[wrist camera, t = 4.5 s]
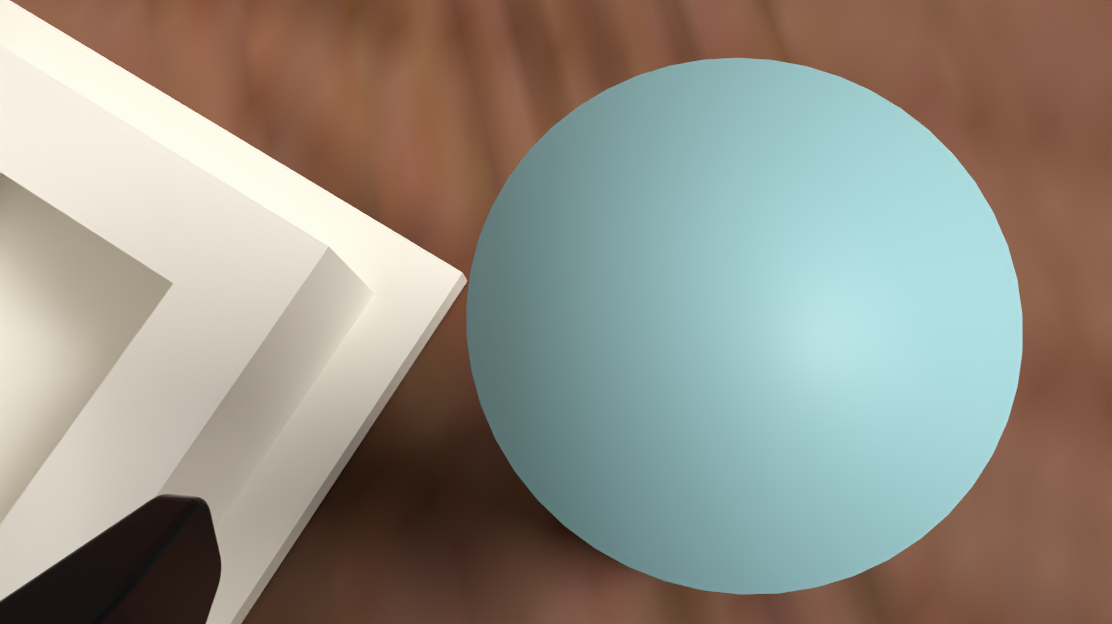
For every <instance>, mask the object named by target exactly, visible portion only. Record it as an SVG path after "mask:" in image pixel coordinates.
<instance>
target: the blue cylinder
mask: <svg viewBox="0 0 1112 624" xmlns="http://www.w3.org/2000/svg"><path fill="white" fill-rule="evenodd" d="M467 343H468V350H469V357H470V364H471V371H472V375H473V379H474V382H475V386H476V389H477V393H478V397H479V400H480V404H481V407H482V409H483V412H484V414H485V416H486V419H487V421H488V423H489V426H490V428H491V430H492V433H493V435H494V437H495V439H496V441H497V443H498V444H499V446H500V448H501V449H502V451H503V453H504V454H505V456H506V458H507V460H508V461H509V463H510V465H511V466H512V468H513V470H514V471H515V472H516V474H517V475H518V476H519V477H520V479H521V480H522V481H523V482H524V484H525V485H526V486H527V487H528V489H529V490H530V491H531V492H532V494H533V495H534V496H535V498H536V499H537V500H538V501H539V502H540V503H541V504H542V505H543V506H544V507H545V508H546V509H547V510H548V511H549V512H550V513H552V514H553V515H554V516H555V517H556V518H557V519H558V520H559V521H560V522H561V523H562V524H563V525H564V526H565V527H567V528H568V529H569V530H571V531H572V532H573V533H575V534H576V535H577V536H579V537H580V538H581V539H583V540H584V541H586V542H587V543H588V544H590V545H591V546H592V547H594V548H595V549H597V550H599V551H601V552H602V553H604V554H606V555H608V556H610V557H611V558H613V559H615V560H617V561H619V562H620V563H622V564H624V565H626V566H628V567H630V568H633V569H635V570H638V571H640V572H643V573H645V574H648V575H650V576H653V577H656V578H658V579H661V580H663V581H667V582H671V583H675V584H679V585H683V586H687V587H691V588H695V589H699V590H705V591H714V592H724V593H733V594H772V593H784V592H790V591H796V590H803V589H809V588H815V587H819V586H823V585H826V584H829V583H832V582H835V581H839V580H842V579H845V578H848V577H852V576H855V575H857V574H859V573H861V572H863V571H865V570H868V569H870V568H872V567H874V566H876V565H878V564H880V563H882V562H885V561H887V560H889V559H890V558H892V557H893V556H895V555H897V554H898V553H900V552H901V551H903V550H904V549H906V548H907V547H909V546H910V545H912V544H913V543H915V542H916V541H918V540H919V539H921V538H922V537H923V536H924V535H925V534H927V533H928V532H929V531H930V530H931V529H932V528H933V527H935V526H936V525H937V524H938V523H939V522H940V521H941V520H943V519H944V518H945V517H946V516H947V515H948V514H949V513H950V512H951V511H952V510H953V508H954V507H955V506H956V505H957V504H958V503H959V501H960V500H961V499H962V498H963V497H964V496H965V494H966V493H967V492H968V491H969V490H970V489H971V487H972V486H973V485H974V483H975V482H976V480H977V479H978V477H979V475H980V474H981V472H982V471H983V469H984V467H985V466H986V464H987V463H988V461H989V460H990V458H991V456H992V455H993V453H994V450H995V448H996V446H997V444H998V442H999V439H1000V437H1001V435H1002V433H1003V430H1004V428H1005V426H1006V424H1007V421H1008V418H1009V414H1010V411H1011V407H1012V404H1013V400H1014V397H1015V393H1016V390H1017V386H1018V379H1019V372H1020V364H1021V357H1022V310H1021V303H1020V296H1019V288H1018V281H1017V277H1016V273H1015V270H1014V266H1013V263H1012V259H1011V256H1010V252H1009V249H1008V245H1007V243H1006V241H1005V238H1004V236H1003V234H1002V231H1001V229H1000V227H999V224H998V222H997V220H996V218H995V215H994V213H993V211H992V210H991V208H990V206H989V205H988V203H987V201H986V199H985V198H984V196H983V194H982V193H981V191H980V189H979V188H978V186H977V184H976V183H975V181H974V180H973V179H972V178H971V176H970V175H969V174H968V172H967V171H966V170H965V169H964V167H963V166H962V165H961V164H960V162H959V161H958V160H957V158H956V157H955V156H954V155H953V154H952V153H951V152H950V151H949V150H948V149H947V148H946V147H945V146H944V145H943V144H942V143H941V142H940V141H939V140H938V139H937V138H936V137H935V136H934V135H933V134H932V133H931V132H930V131H929V130H928V129H927V128H925V127H924V126H923V125H922V124H920V123H919V122H918V121H916V120H915V119H914V118H912V117H911V116H910V115H909V114H907V113H906V112H905V111H903V110H902V109H901V108H899V107H898V106H896V105H894V104H892V103H891V102H889V101H887V100H886V99H884V98H882V97H881V96H879V95H877V94H876V93H874V92H872V91H871V90H868V89H866V88H864V87H862V86H859V85H857V84H855V83H853V82H850V81H848V80H846V79H844V78H841V77H839V76H836V75H833V74H829V73H826V72H823V71H820V70H816V69H813V68H810V67H807V66H802V65H796V64H791V63H785V62H780V61H774V60H763V59H747V58H727V59H709V60H700V61H694V62H688V63H683V64H677V65H672V66H668V67H664V68H661V69H658V70H655V71H651V72H648V73H645V74H641V75H638V76H636V77H634V78H631V79H629V80H627V81H625V82H622V83H620V84H618V85H616V86H613V87H611V88H609V89H607V90H605V91H603V92H602V93H600V94H598V95H597V96H595V97H593V98H592V99H590V100H588V101H587V102H585V103H583V104H582V105H580V106H578V107H577V108H576V109H575V110H573V111H572V112H571V113H570V114H568V115H567V116H566V117H564V118H563V119H562V120H561V121H559V122H558V123H557V124H555V125H554V126H553V127H552V128H551V129H550V130H549V131H548V132H547V133H546V134H545V135H544V136H543V137H542V138H541V139H540V140H539V141H538V142H537V143H536V144H535V145H534V146H533V147H532V148H531V149H530V150H529V151H528V153H527V154H526V155H525V157H524V158H523V159H522V160H521V162H520V163H519V164H518V166H517V167H516V168H515V170H514V171H513V172H512V174H511V175H510V176H509V178H508V179H507V181H506V183H505V185H504V186H503V188H502V190H501V192H500V193H499V195H498V197H497V199H496V200H495V202H494V204H493V205H492V208H491V210H490V213H489V215H488V217H487V220H486V222H485V225H484V227H483V230H482V232H481V234H480V237H479V241H478V244H477V248H476V252H475V256H474V260H473V263H472V267H471V272H470V280H469V288H468V296H467Z"/></svg>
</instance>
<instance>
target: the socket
mask: <svg viewBox="0 0 1112 624" xmlns="http://www.w3.org/2000/svg"><path fill="white" fill-rule="evenodd" d="M466 282H467V280H466V278H465V276H464V274H463V273H462V272H461V271H459V270H457V269H456V268H454V267H452V266H451V265H449V264H447V263H446V262H444V261H442V260H441V259H439V258H437V257H436V256H434V255H432V254H431V253H429V252H427V251H426V250H424V249H422V248H421V247H419V246H417V245H416V244H414V243H412V242H411V241H409V240H407V239H406V238H404V237H402V236H401V235H399V234H397V233H396V232H394V231H392V230H391V229H389V228H387V227H386V226H384V225H382V224H381V223H379V222H377V221H376V220H374V219H372V218H371V217H369V216H367V215H366V214H364V213H362V212H361V211H359V210H357V209H356V208H354V207H352V206H351V205H349V204H347V203H346V202H344V201H342V200H341V199H339V198H337V197H336V196H334V195H332V194H331V193H329V192H327V191H326V190H324V189H322V188H321V187H319V186H317V185H316V184H314V183H312V182H311V181H309V180H307V179H306V178H304V177H302V176H301V175H299V174H297V173H296V172H294V171H292V170H291V169H289V168H287V167H286V166H284V165H283V164H281V163H279V162H278V161H276V160H274V159H273V158H271V157H269V156H268V155H266V154H264V153H263V152H261V151H259V150H258V149H256V148H254V147H253V146H251V145H249V144H248V143H246V142H244V141H243V140H241V139H239V138H238V137H236V136H234V135H233V134H231V133H229V132H228V131H226V130H224V129H223V128H221V127H219V126H218V125H216V124H214V123H213V122H211V121H209V120H208V119H206V118H204V117H203V116H201V115H199V114H198V113H196V112H194V111H193V110H191V109H189V108H188V107H186V106H184V105H183V104H181V103H179V102H178V101H176V100H174V99H173V98H171V97H169V96H168V95H166V94H164V93H163V92H161V91H159V90H158V89H156V88H154V87H153V86H151V85H149V84H148V83H146V82H144V81H143V80H141V79H139V78H138V77H136V76H134V75H133V74H131V73H129V72H128V71H126V70H124V69H123V68H121V67H119V66H118V65H116V64H114V63H113V62H111V61H109V60H108V59H106V58H104V57H103V56H101V55H99V54H98V53H96V52H94V51H93V50H91V49H90V48H88V47H86V46H85V45H83V44H81V43H80V42H78V41H76V40H75V39H73V38H71V37H70V36H68V35H66V34H65V33H63V32H61V31H60V30H58V29H56V28H55V27H53V26H51V25H50V24H48V23H46V22H45V21H43V20H41V19H40V18H38V17H36V16H35V15H33V14H31V13H30V12H28V11H26V10H25V9H23V8H21V7H20V6H18V5H16V4H15V3H13V2H11V1H10V0H0V600H2V599H3V598H5V597H6V596H8V595H9V594H11V593H12V592H14V591H15V590H17V589H18V588H20V587H21V586H23V585H24V584H26V583H27V582H29V581H30V580H32V579H33V578H35V577H36V576H38V575H39V574H41V573H42V572H44V571H45V570H47V569H48V568H50V567H51V566H53V565H54V564H56V563H57V562H59V561H60V560H62V559H63V558H65V557H66V556H67V555H69V554H70V553H72V552H73V551H75V550H76V549H78V548H79V547H81V546H82V545H84V544H85V543H87V542H88V541H90V540H91V539H93V538H94V537H96V536H97V535H99V534H100V533H102V532H103V531H105V530H106V529H108V528H109V527H111V526H112V525H114V524H115V523H117V522H118V521H120V520H121V519H123V518H124V517H126V516H127V515H129V514H130V513H132V512H133V511H135V510H136V509H137V508H139V507H140V506H142V505H143V504H145V503H146V502H148V501H149V500H151V499H153V498H154V497H156V496H159V495H161V494H175V495H185V496H196V497H200V498H202V499H204V500H205V501H206V502H207V504H208V506H209V509H210V512H211V516H212V521H213V525H214V530H215V534H216V538H217V543H218V547H219V552H220V556H221V577H220V582H219V586H218V589H217V592H216V595H215V598H214V601H213V604H212V607H211V610H210V613H209V616H208V619H207V622H206V624H241V623H242V622H243V620H244V619H245V617H246V616H247V614H248V613H249V611H250V610H251V608H252V607H253V605H254V604H255V602H256V601H257V599H258V598H259V596H260V595H261V593H262V591H263V590H264V588H265V587H266V585H267V584H268V582H269V581H270V579H271V578H272V576H273V575H274V573H275V572H276V570H277V569H278V567H279V566H280V564H281V563H282V561H283V560H284V558H285V557H286V555H287V554H288V552H289V551H290V549H291V548H292V546H293V545H294V543H295V541H296V540H297V538H298V537H299V535H300V534H301V532H302V531H303V529H304V528H305V526H306V525H307V523H308V522H309V520H310V519H311V517H312V516H313V514H314V513H315V511H316V510H317V508H318V507H319V505H320V504H321V502H322V501H323V499H324V498H325V496H326V495H327V493H328V491H329V490H330V488H331V487H332V485H333V484H334V482H335V481H336V479H337V478H338V476H339V475H340V473H341V472H342V470H343V469H344V467H345V466H346V464H347V463H348V461H349V460H350V458H351V457H352V455H353V454H354V452H355V451H356V449H357V448H358V446H359V445H360V443H361V442H362V440H363V438H364V437H365V435H366V434H367V432H368V431H369V429H370V428H371V426H372V425H373V423H374V422H375V420H376V419H377V417H378V416H379V414H380V413H381V411H382V410H383V408H384V407H385V405H386V404H387V402H388V401H389V399H390V398H391V396H392V395H393V393H394V392H395V390H396V388H397V387H398V385H399V384H400V382H401V381H402V379H403V378H404V376H405V375H406V373H407V372H408V370H409V369H410V367H411V366H412V364H413V363H414V361H415V360H416V358H417V357H418V355H419V354H420V352H421V351H422V349H423V348H424V346H425V345H426V343H427V342H428V340H429V339H430V337H431V335H432V334H433V332H434V331H435V329H436V328H437V326H438V325H439V323H440V322H441V320H442V319H443V317H444V316H445V314H446V313H447V311H448V310H449V308H450V307H451V305H452V304H453V302H454V301H455V299H456V298H457V296H458V295H459V293H460V292H461V290H462V289H463V287H464V285H465V284H466Z"/></svg>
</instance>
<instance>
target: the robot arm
mask: <svg viewBox="0 0 1112 624" xmlns="http://www.w3.org/2000/svg"><path fill="white" fill-rule="evenodd" d="M220 577H221V556H220V552H219V547H218V543H217V538H216V534H215V530H214V525H213V521H212V516H211V512H210V509H209V506H208V504H207V502H206V501H205V500H204V499H202V498H200V497H196V496H185V495H175V494H161V495H159V496H156V497H154V498H153V499H151V500H149V501H148V502H146V503H145V504H143V505H142V506H140V507H139V508H137V509H136V510H135V511H133V512H132V513H130V514H129V515H127V516H126V517H124V518H123V519H121V520H120V521H118V522H117V523H115V524H114V525H112V526H111V527H109V528H108V529H106V530H105V531H103V532H102V533H100V534H99V535H97V536H96V537H94V538H93V539H91V540H90V541H88V542H87V543H85V544H84V545H82V546H81V547H79V548H78V549H76V550H75V551H73V552H72V553H70V554H69V555H67V556H66V557H65V558H63V559H62V560H60V561H59V562H57V563H56V564H54V565H53V566H51V567H50V568H48V569H47V570H45V571H44V572H42V573H41V574H39V575H38V576H36V577H35V578H33V579H32V580H30V581H29V582H27V583H26V584H24V585H23V586H21V587H20V588H18V589H17V590H15V591H14V592H12V593H11V594H9V595H8V596H6V597H5V598H3V599H2V600H0V624H206V622H207V619H208V616H209V613H210V610H211V607H212V604H213V601H214V598H215V595H216V592H217V589H218V586H219V582H220Z"/></svg>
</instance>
